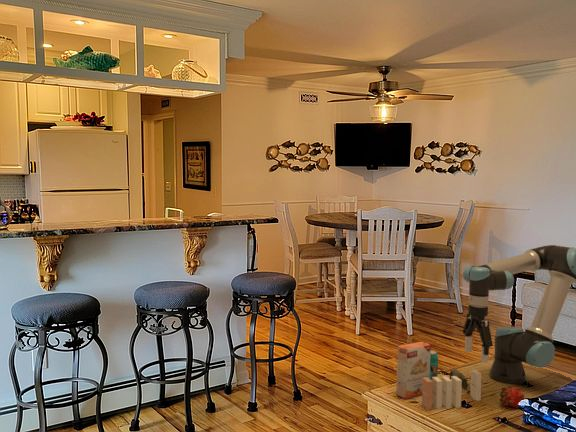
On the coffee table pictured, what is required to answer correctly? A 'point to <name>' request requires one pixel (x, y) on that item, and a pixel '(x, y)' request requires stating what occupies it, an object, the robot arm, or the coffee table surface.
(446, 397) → the domino
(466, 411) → the coffee table surface
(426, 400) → the domino
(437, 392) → the domino
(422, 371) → the cracker box
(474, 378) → the domino
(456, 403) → the domino
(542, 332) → the robot arm
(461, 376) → the rhino figurine
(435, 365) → the beverage can
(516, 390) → the dragon fruit
